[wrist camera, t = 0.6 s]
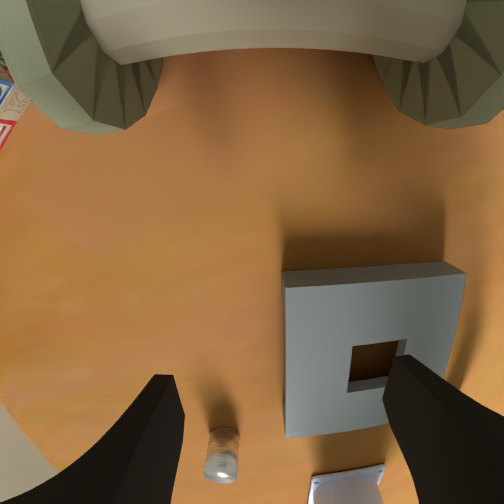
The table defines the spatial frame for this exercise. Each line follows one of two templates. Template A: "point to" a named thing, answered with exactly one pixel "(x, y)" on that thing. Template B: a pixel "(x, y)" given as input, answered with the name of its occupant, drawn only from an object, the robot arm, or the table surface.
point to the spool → (251, 36)
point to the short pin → (222, 455)
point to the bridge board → (360, 337)
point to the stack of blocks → (9, 102)
